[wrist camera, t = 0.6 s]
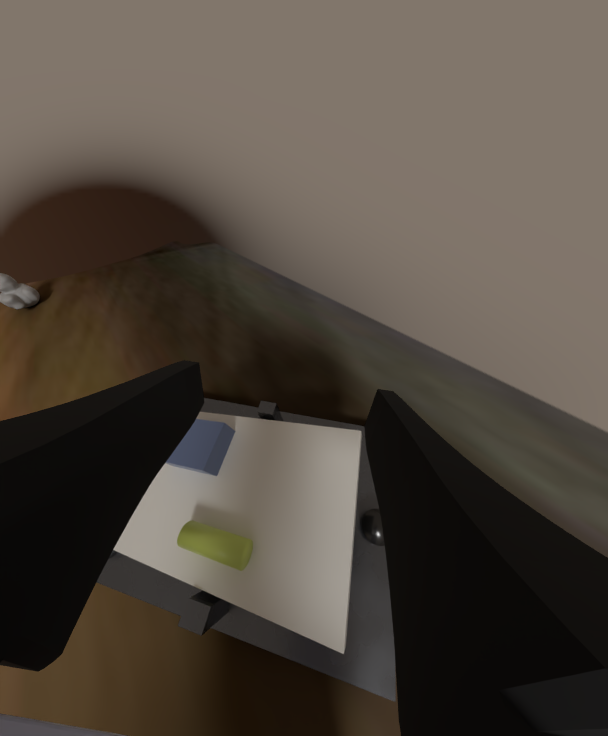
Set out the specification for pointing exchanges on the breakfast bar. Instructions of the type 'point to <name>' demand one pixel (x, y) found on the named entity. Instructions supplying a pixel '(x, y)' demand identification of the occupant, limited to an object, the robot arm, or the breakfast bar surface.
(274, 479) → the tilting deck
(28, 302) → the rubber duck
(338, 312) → the breakfast bar surface
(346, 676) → the base
